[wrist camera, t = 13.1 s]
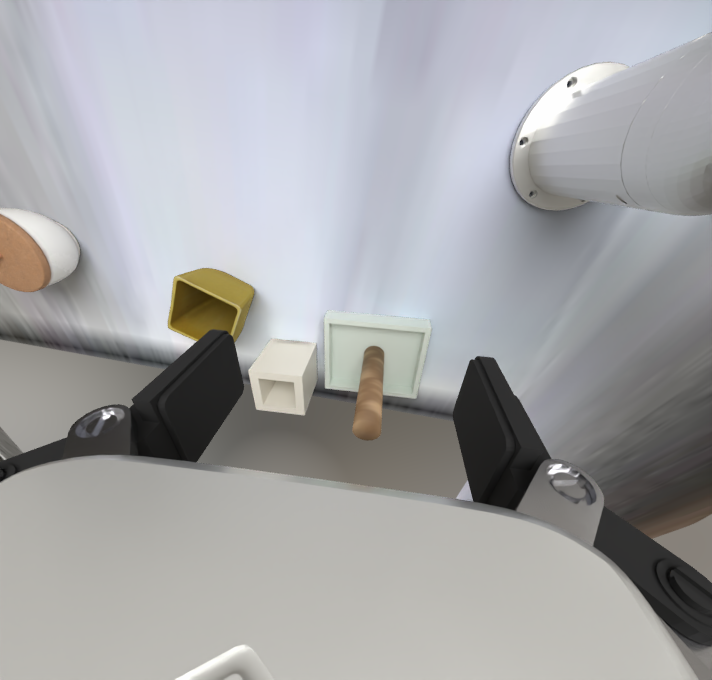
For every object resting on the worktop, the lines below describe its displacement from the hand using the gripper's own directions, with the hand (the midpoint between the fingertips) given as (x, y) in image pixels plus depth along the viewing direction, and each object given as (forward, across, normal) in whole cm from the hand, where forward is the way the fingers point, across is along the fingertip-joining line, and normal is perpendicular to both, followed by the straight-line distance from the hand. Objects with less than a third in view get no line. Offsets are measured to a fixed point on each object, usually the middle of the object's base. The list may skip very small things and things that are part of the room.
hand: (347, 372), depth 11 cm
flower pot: (+31, +22, +11) cm, 39 cm away
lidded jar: (+31, +49, +5) cm, 58 cm away
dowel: (+30, -1, +20) cm, 35 cm away
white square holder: (+30, +13, +23) cm, 40 cm away
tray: (+30, -1, +20) cm, 36 cm away
